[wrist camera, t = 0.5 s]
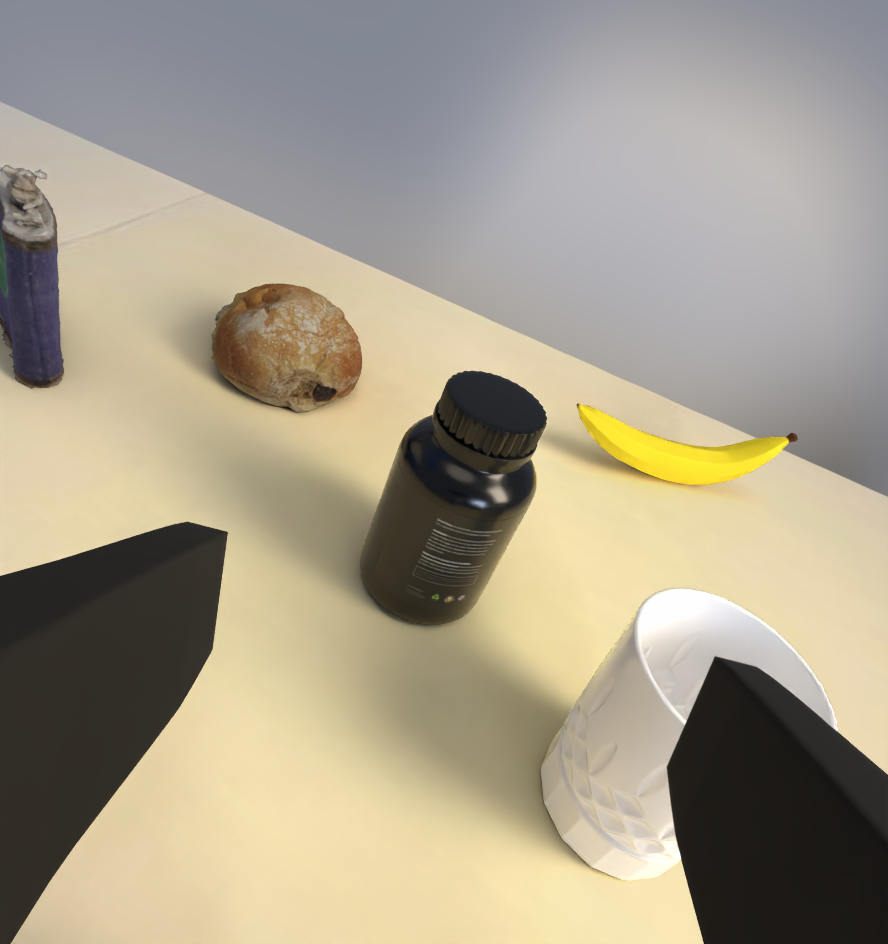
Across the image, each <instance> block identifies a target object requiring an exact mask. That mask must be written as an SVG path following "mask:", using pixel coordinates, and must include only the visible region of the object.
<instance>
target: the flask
mask: <svg viewBox="0 0 888 944" xmlns="http://www.w3.org/2000/svg"><path fill="white" fill-rule="evenodd" d="M37 177H38V178H40V179H46V178H47V174H46V173H44V172H42V171H41V170H39V171H35V173H32V172H31V171H30V170H25V169H22V168H17V169H14V168H12V167H10V166H9V165H5V166H4V167H2V168H1V169H0V323H1V325H2V327H3V330H4V331H3V332H4V334H2V335H3V337H4V339H2V340H4V341H5V344H6V345H7V346H9V347H10V348H11V349H12V354H10V355H9V356H11V357H12V358H13V362H14V366H12V367H14V374H15V379H16V380H18V381H19V382H21V383H23V384H25V385H28V386H29V387H30V388H34V387H39V388H43V387H51V386H53V385H57V384H58V383H59V382H60V381H61V380H62V376H63V373H64V370H63V369H64V368H63V359H62V354H61V347H60V318H59V289H58V281H59V279H58V265H57V253H58V247H57V223H56V218H55V215H54V213H53V208H52V207H51V206H50V204H49V202H48V200H47V199H46V198H45V196H44V194H43V193H42V192H41V191H40V189H39V188H38V187H37V186H36V185H35V181H36V179H37Z"/></svg>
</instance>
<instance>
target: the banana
mask: <svg viewBox="0 0 888 944" xmlns="http://www.w3.org/2000/svg"><path fill="white" fill-rule="evenodd" d="M577 408H578V410H579V414H580V418H581V420H582V422H583V424H584V425H585V427H586V429H587V430H588V432H589V433H590V434H591V436H592V437H593V438H594V439H595V441H596V442H597V443H598V444H599V445H600V446H601V447H602V448H604V449H605V450H606V451H607V452H608V453H610V454H611V455H612V456H614V457H615V458H617V459H619V460H621V461H622V462H624V463H626V464H628V465H630V466H632V467H634V468H636V469H638V470H640V471H642V472H644V473H646V474H649V475H652V476H655V477H657V478H660V479H664V480H668V481H672V482H676V483H683V484H692V485H702V484H714V483H720V482H725V481H728V480H732V479H735V478H738V477H741V476H743V475H745V474H747V473H750V472H752V471H754V470H755V469H757V468H759V467H760V466H762V465H764V464H765V463H767V462H768V461H769V460H771V459H772V458H773V457H775V456H776V455H777V454H779V453H780V451H781V450H782V449H783V448H784V447H785V446H786V445H787V444H788V443H789V442H795V441H796V440H797V439H798V438H797V435H796V434H794V433H790V434H789V435H788V436H787V437H766V438H758V439H754V440H749V441H745V442H741V443H737V444H733V445H727V446H722V447H700V446H693V445H688V444H682V443H678V442H674V441H670V440H666V439H663V438H660V437H657V436H654V435H651V434H648V433H645V432H643V431H640V430H637V429H635V428H632V427H630V426H628V425H626V424H624V423H622V422H621V421H619V420H617V419H615V418H613V417H611V416H609V415H607V414H605V413H603V412H601V411H599V410H597V409H595V408H593V407H590V406H585V405H581V404H577Z"/></svg>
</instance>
